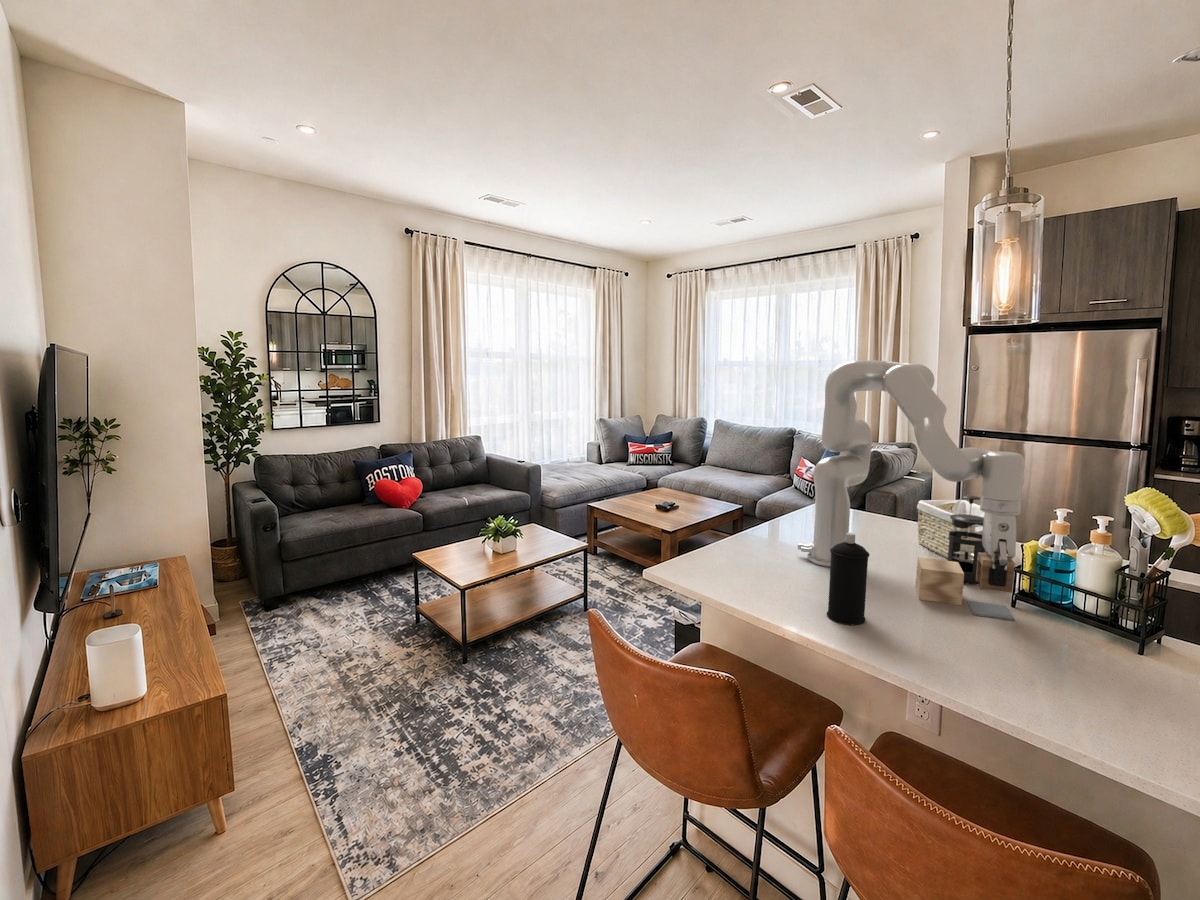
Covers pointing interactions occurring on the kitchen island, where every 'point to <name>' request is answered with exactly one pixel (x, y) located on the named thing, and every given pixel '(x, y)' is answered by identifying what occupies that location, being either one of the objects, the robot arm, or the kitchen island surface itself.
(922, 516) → the storage basket
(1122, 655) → the kitchen island surface
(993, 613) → the coaster
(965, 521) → the french press
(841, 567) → the aerosol can
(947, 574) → the plinth
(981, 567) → the u-shaped wooden block
